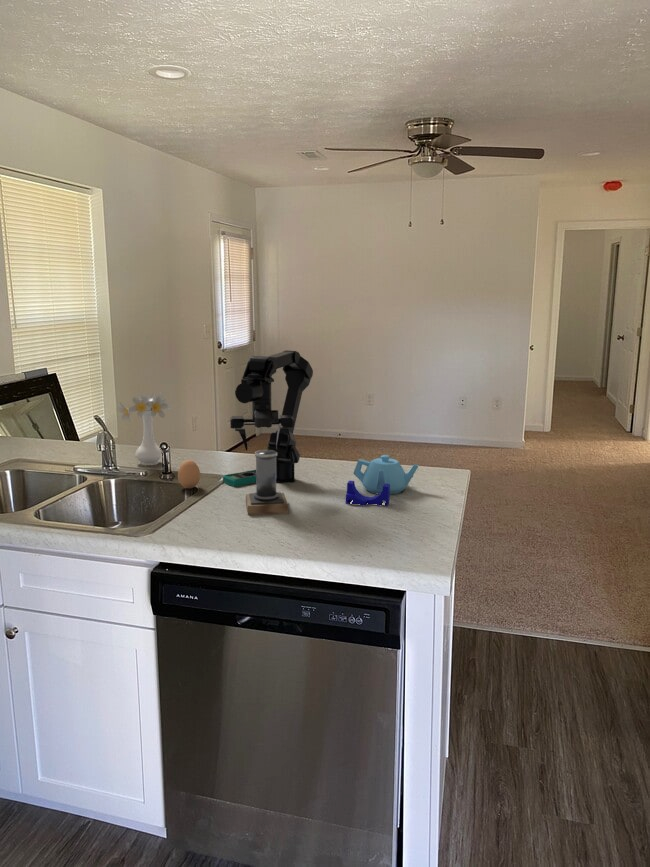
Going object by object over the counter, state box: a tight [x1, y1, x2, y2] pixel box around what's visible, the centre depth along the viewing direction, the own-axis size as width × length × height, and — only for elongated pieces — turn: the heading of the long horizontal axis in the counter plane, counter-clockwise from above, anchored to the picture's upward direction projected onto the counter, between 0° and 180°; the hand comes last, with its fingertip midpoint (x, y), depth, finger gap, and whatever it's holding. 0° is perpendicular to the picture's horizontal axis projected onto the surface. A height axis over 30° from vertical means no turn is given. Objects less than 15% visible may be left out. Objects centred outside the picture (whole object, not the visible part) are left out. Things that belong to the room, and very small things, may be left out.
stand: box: [245, 491, 289, 516], centre depth 188 cm, size 11×11×3 cm
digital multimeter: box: [222, 469, 256, 488], centre depth 215 cm, size 7×15×3 cm, turn 129°
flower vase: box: [116, 391, 172, 467], centre depth 231 cm, size 13×18×25 cm
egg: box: [177, 459, 201, 489], centre depth 205 cm, size 7×7×9 cm
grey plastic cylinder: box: [254, 449, 278, 501], centre depth 187 cm, size 7×7×13 cm
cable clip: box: [345, 480, 391, 507], centre depth 193 cm, size 12×4×6 cm, turn 75°
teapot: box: [352, 454, 419, 495], centre depth 207 cm, size 15×15×11 cm
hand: (262, 449), depth 201 cm, fingers open, 9 cm apart
